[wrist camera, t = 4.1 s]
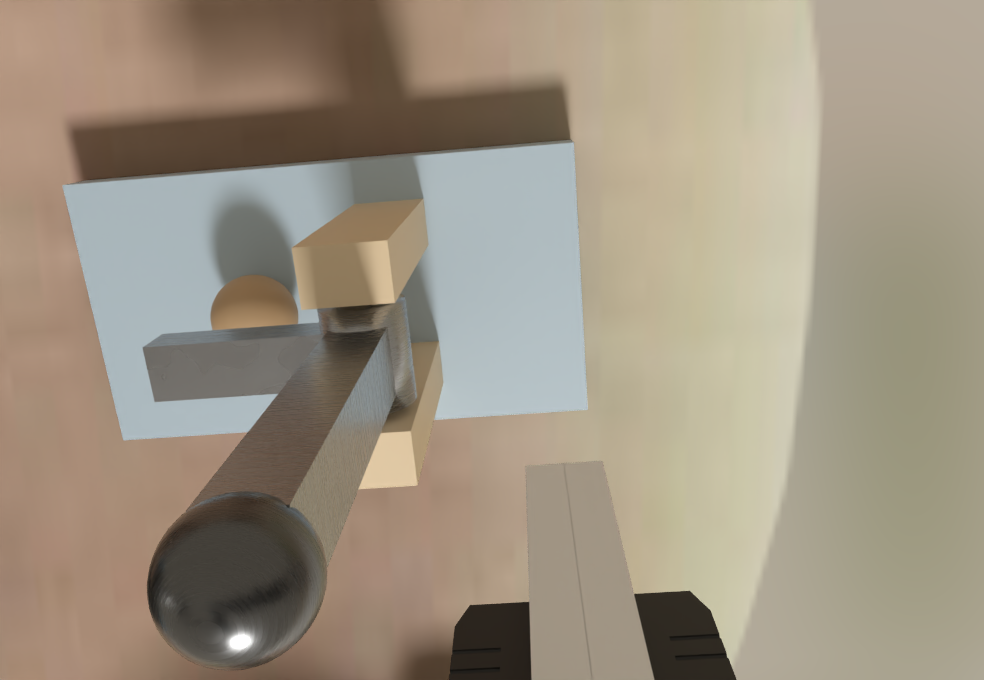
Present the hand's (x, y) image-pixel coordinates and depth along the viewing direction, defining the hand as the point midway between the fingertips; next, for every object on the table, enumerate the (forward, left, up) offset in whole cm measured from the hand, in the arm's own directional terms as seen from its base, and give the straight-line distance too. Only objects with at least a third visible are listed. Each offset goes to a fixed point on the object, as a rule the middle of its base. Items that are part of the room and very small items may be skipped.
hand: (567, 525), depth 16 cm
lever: (-9, 0, -14) cm, 17 cm away
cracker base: (-9, 0, -22) cm, 24 cm away
